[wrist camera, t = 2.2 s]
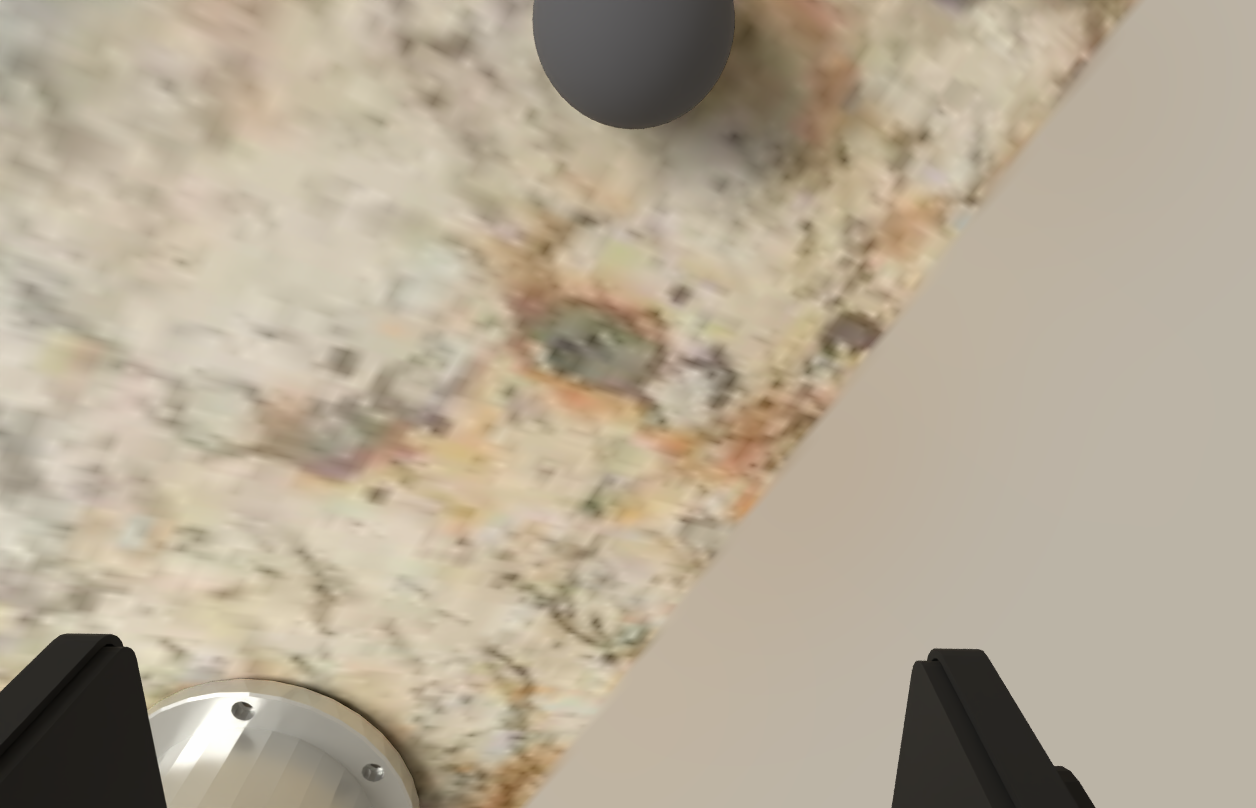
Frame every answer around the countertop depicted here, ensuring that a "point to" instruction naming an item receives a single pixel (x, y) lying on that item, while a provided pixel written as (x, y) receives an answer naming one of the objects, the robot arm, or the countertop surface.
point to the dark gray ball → (633, 55)
